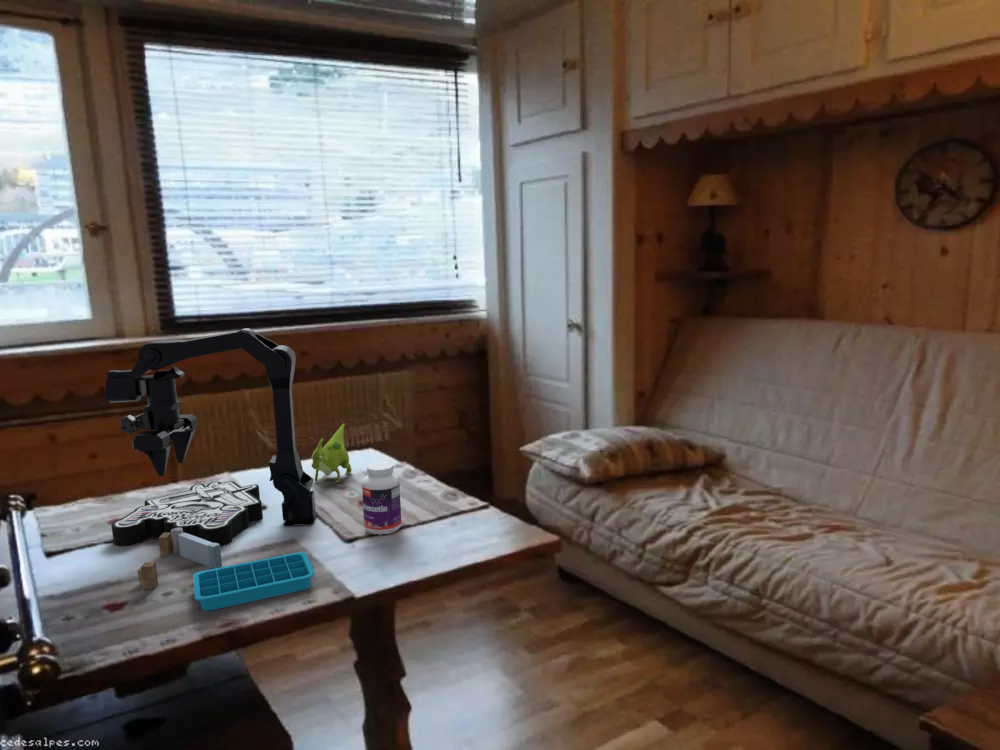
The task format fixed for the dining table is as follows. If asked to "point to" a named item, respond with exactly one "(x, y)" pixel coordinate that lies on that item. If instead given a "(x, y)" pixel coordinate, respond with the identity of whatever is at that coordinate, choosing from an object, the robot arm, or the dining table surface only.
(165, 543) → the brown angular block
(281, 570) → the ice cube tray
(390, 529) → the pill bottle
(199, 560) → the pale blue flat bar
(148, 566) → the wooden block
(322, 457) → the toy
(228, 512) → the decorative sign
